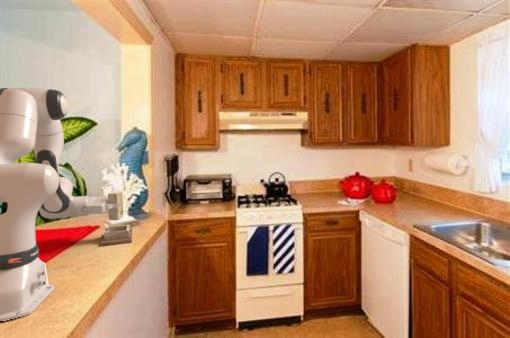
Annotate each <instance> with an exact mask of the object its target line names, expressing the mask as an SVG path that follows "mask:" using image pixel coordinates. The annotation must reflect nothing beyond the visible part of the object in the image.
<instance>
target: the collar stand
mask: <svg viewBox="0 0 510 338" xmlns="http://www.w3.org/2000/svg"><path fill="white" fill-rule="evenodd" d="M132 242H133V228H130V224H122V225H115V226H106V227H105V230H104V233H103V237H102V239H101V242H100V244H101V247H107V246H115V245H116V246H117V245H123V244H131V243H132Z"/></svg>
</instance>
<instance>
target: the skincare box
mask: <svg viewBox="0 0 510 338" xmlns="http://www.w3.org/2000/svg"><path fill="white" fill-rule="evenodd" d="M107 197H108V204H113V203H117V208H111V209H107V211H108V221H119V220H121V219H123V218H124V201H123V191H111V192H109V193H108V194H107Z"/></svg>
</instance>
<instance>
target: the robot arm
mask: <svg viewBox="0 0 510 338" xmlns="http://www.w3.org/2000/svg"><path fill="white" fill-rule="evenodd" d="M68 107H69V104H68V101H67V98H66V96H65V95H64V93H62V91H60V90H57V89H52V88H49V89H44V88H37V87H36V88H34V87H33V88H32V87H31V88H30V87H11V88H8V87H2V88H0V203H7V209H6V211H5V212H4V213H1V214H0V321H3V320H7V319H13V320H15V319H14V318H16V319H19V318H18V317H20V318H23V317H25V316H28V315H30V314H31V313H33V312H34V311H35V309H37V308H38V307H39V306H40V304H41V303H43V302H44V301H45V299H46V298H47V297H48V296H49V295H50V294H51V293H52V292H54V291H55V289H56V288H55V284H51V283H49V279H48V272H47V267H46V266H47V265H46V262H44V261H42V260H41V259H40V258H39V257H40V253H39V251H40V249H39V245H38V243H37V240H36V218H37V215H38V212H39V214H40V216H41V217H42V218H45V219H50V220H51V219H64V218H69V217H74V218H79V217H80V218H81V217H87V216H89V215H93V214H103V213H106V210H108V209H111V208H117V203H113V204H108V196H90V195H82V196H81V195H79V196H73V190H74V186H73V182H72V181H71V180H70V179H69V178H67V177H65V176H60V173H59V164H60V159H61V156H62V152H63V150H64V146H65V137H64V136H65V135H64V129H63V126H62V122H61V119H64V117H66V115H67V114H68ZM32 151H33V153H34V156H35V161H36V162H18V163H17V162H16V161H18V160H19V159H21V158H22V157H25V156H27V155H29V154H30V153H31V152H32ZM22 316H23V317H22Z"/></svg>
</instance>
